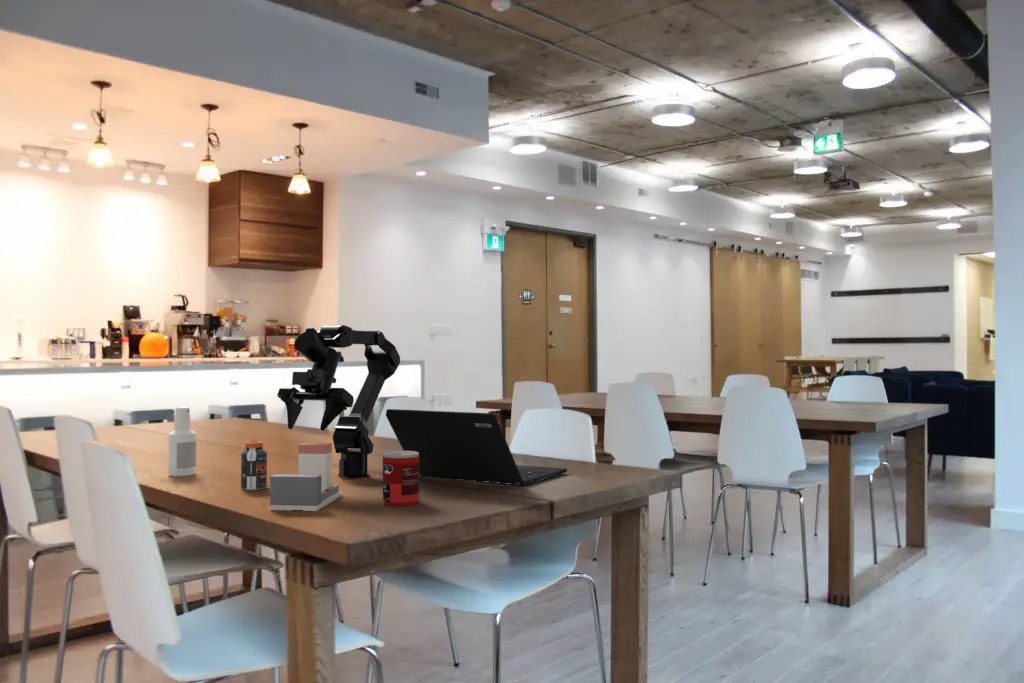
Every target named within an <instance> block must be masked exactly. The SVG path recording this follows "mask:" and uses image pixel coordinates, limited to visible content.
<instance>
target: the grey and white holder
mask: <svg viewBox="0 0 1024 683" xmlns="http://www.w3.org/2000/svg"><path fill="white" fill-rule="evenodd" d="M269 482H270V483H269V484H270V486H269V490H270V491H269V492H270V493H269V494H270V495H269V497H270V498H269V499H270V500H269V503H270V504H269V511H292V510H303V511H302V512H304V511H305V512H306V511H307V512H309V511H310V512H317V511H318V510H320V509H322V508H324V507H325V506H327V505H329V504H330V503H332V502H334V501H336V500H337V499H338V498H340V497H342V495H343V493H342V492H343V491H342V490H341V491H340V490H339V489H340V487H339V486H340V485H339V484H335V485H332V487H331V488H329V489H327V490H324V491H323V492H321V475H298V474H293V473H291V474H290V473H289V474H288V473H286V474H285V473H284V474H282V473H281V474H279V473H276V474H273V475H270V480H269Z"/></svg>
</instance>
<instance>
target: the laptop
mask: <svg viewBox="0 0 1024 683" xmlns="http://www.w3.org/2000/svg"><path fill="white" fill-rule="evenodd" d="M385 417H386V418H387V421H388V423H389V425H390V426H391V429H392V431H393V433H394V435H395V437H396V438H397V440H398V442H399V445H400V446H401V449H402V451H415V452H418V453H419V477H422V476H430V477H429V478H435V477H440V478H439V479H444V478H450V479H449V480H455V479H463V480H462V481H464V480H476V481H489V482H500V483H511V484H516V485H515V486H520V485H524V486H527V485H526V484H528V485H530V484H529V483H531V484H534V483H537V482H536V481H538V482H540V481H539V480H542V479H544V480H546V479H545V478H548V479H550V478H549V477H551V478H553V477H552V476H554V477H556V476H555V475H558V476H560V475H559V474H561V475H563V474H562V473H564V474H566V473H567V471H568V469H567V468H566V467H565V468H563V467H551V466H549V467H548V466H536V465H522V464H516V462H515V458H514V457H513V454H512V451H511V449H510V447H509V444H508V442H507V440H506V437H505V435H504V433H503V430H502V427H501V426H500V423H499V421H498V418H497V417H496V414H495V413H491V412H490V413H489V412H471V411H470V412H468V411H443V410H441V411H440V410H419V409H397V408H396V409H395V408H393V409H392V408H388V409H386V411H385ZM542 481H543V480H542ZM533 482H534V483H533Z"/></svg>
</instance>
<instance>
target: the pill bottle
mask: <svg viewBox="0 0 1024 683" xmlns="http://www.w3.org/2000/svg"><path fill="white" fill-rule="evenodd" d="M244 445H245V446H244V447H245V449H244V450H243V451H242V452H241V454H240V458H241V459H240V488H241V490H245V491H257V490H263V489H265V488H267V484H268V483H267V482H268V480H267V479H268V478H267V477H268V475H267V474H268V471H267V469H268V468H267V467H268V453H267V451H266V450H265V449H264V442H263V441H259V440H251V441H245V444H244Z"/></svg>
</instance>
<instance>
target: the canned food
mask: <svg viewBox="0 0 1024 683" xmlns="http://www.w3.org/2000/svg"><path fill="white" fill-rule="evenodd" d="M419 500H420V475H419V453H418V452H415V451H404V450H390V451H389V450H388V451H385V452H383V453H382V501H383V504H384V505H385V506H391V507H409V505H410V506H413V505H414V504H415V505H417V504H418V503H419ZM415 505H414V506H415Z"/></svg>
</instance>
